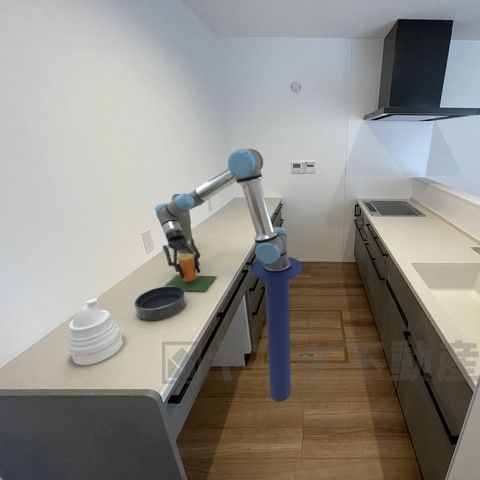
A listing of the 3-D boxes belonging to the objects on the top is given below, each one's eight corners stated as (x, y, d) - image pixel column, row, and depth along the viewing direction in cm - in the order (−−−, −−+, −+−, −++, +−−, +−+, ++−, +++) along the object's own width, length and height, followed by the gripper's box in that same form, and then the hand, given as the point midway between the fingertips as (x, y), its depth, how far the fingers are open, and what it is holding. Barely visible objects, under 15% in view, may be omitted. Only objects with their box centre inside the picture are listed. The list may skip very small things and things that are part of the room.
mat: (216, 277, 133) (216, 276, 133) (205, 292, 120) (204, 291, 120) (177, 276, 133) (176, 275, 133) (161, 290, 120) (161, 289, 120)
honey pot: (119, 330, 95) (107, 287, 88) (126, 350, 86) (112, 304, 80) (71, 348, 86) (54, 301, 80) (73, 372, 78) (53, 322, 71)
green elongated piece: (199, 247, 168) (191, 193, 155) (188, 255, 157) (179, 197, 144) (186, 246, 169) (177, 192, 156) (174, 254, 158) (164, 196, 145)
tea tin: (199, 274, 129) (196, 253, 125) (193, 281, 122) (189, 259, 118) (185, 274, 128) (181, 253, 125) (178, 281, 122) (174, 259, 118)
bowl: (193, 297, 116) (191, 286, 114) (172, 322, 100) (170, 310, 98) (154, 296, 116) (151, 285, 114) (127, 321, 100) (124, 309, 98)
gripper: (193, 232, 136) (210, 271, 131) (150, 241, 123) (167, 284, 118) (195, 225, 131) (213, 265, 126) (151, 233, 118) (169, 278, 113)
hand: (191, 274), depth 122 cm, fingers closed on tea tin, 7 cm apart
